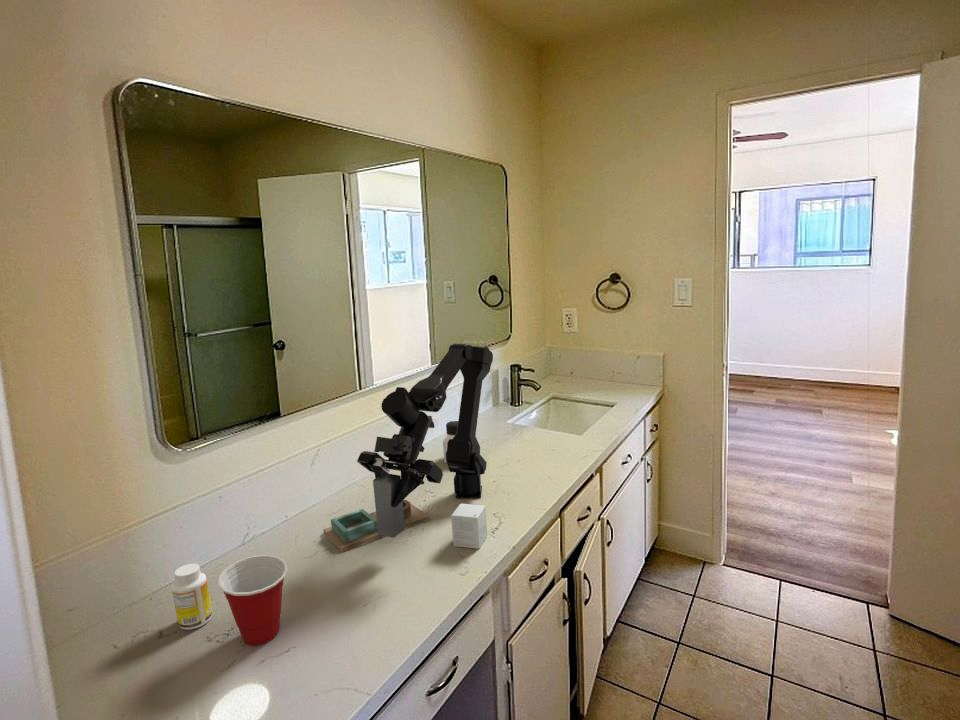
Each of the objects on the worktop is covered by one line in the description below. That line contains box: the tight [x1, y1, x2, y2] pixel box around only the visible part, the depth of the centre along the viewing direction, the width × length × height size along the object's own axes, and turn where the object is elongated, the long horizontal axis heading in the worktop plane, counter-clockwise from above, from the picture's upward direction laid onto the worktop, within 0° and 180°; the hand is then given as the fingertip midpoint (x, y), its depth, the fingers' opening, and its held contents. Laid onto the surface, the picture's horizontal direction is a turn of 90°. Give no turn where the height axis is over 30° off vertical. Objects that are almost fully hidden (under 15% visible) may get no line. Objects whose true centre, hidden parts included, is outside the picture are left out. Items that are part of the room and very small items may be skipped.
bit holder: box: [323, 499, 430, 553], centre depth 131 cm, size 22×11×4 cm, turn 126°
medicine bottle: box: [442, 419, 459, 464], centre depth 170 cm, size 7×7×12 cm
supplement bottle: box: [171, 563, 213, 631], centre depth 99 cm, size 6×6×10 cm
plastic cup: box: [217, 554, 288, 647], centre depth 94 cm, size 11×11×12 cm
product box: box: [450, 503, 488, 550], centre depth 121 cm, size 6×6×7 cm
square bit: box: [372, 473, 406, 539], centre depth 115 cm, size 4×4×12 cm
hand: (384, 505), depth 114 cm, fingers closed on square bit, 4 cm apart
